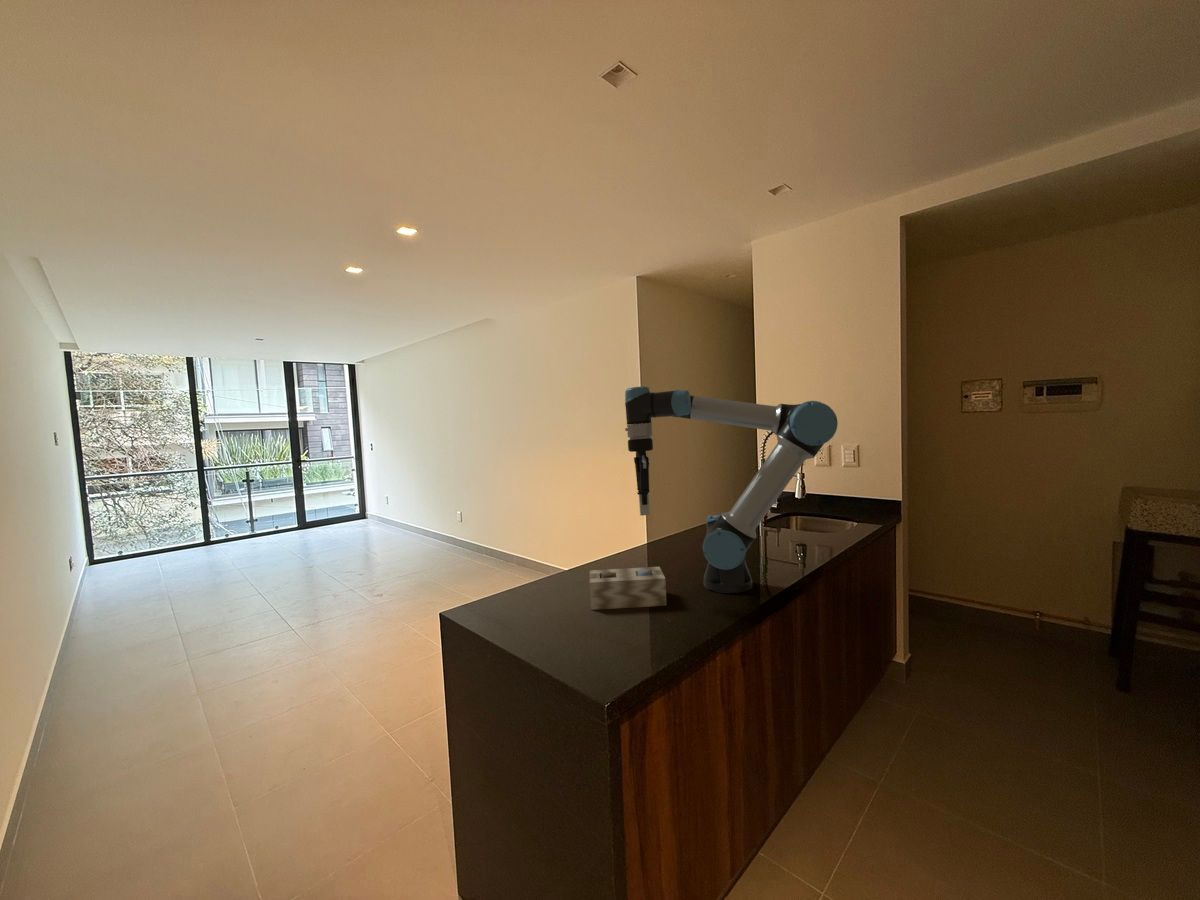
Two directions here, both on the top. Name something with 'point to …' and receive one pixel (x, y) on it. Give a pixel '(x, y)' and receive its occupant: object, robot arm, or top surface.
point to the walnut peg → (607, 575)
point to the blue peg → (644, 573)
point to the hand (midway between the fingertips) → (644, 514)
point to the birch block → (627, 589)
